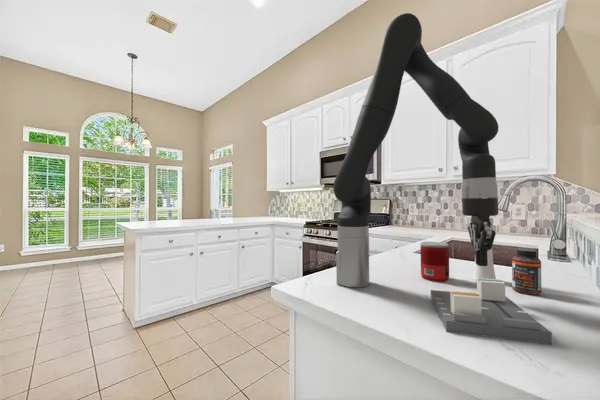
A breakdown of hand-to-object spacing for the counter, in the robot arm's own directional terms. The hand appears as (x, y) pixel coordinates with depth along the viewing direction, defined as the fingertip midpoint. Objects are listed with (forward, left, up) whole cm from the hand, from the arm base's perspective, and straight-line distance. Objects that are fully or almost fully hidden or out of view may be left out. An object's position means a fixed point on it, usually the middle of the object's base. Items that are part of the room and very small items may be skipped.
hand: (481, 265), depth 67 cm
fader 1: (-8, -18, -6) cm, 21 cm away
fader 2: (0, -7, -6) cm, 9 cm away
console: (-4, -13, -8) cm, 16 cm away
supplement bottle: (+13, +8, -8) cm, 17 cm away
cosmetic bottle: (+6, +17, -8) cm, 20 cm away
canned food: (-8, +15, -8) cm, 19 cm away
